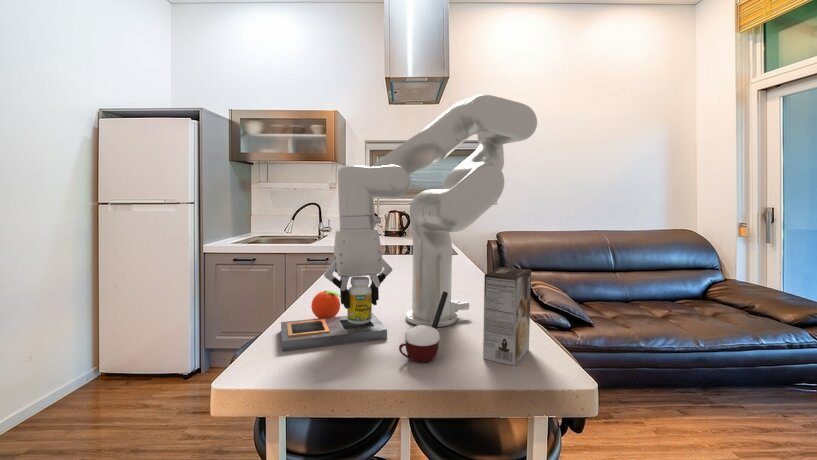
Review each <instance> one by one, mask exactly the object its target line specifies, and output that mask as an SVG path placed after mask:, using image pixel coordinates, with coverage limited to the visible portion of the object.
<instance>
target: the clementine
mask: <svg viewBox="0 0 817 460" xmlns="http://www.w3.org/2000/svg"><path fill="white" fill-rule="evenodd" d="M310 308H311V312H312V313H313V315H314V316H315V318H316V319H318V318H328V317H337V315H338V313H339V312H340V309H341V296H340V294H338V293H337V292H335V291H331V290H324V291H320V292H318V293H317V294H315V296H314V297H313V299H312V301H311V306H310Z"/></svg>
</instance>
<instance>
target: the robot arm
mask: <svg viewBox="0 0 817 460" xmlns="http://www.w3.org/2000/svg"><path fill="white" fill-rule="evenodd" d="M537 127H538V119H537V115H536V113H535V111H534V110H533V109H532V107H530V106H529V105H528V104H525V103H522V102H518V101H515V100H511V99H508V98H503V97H499V96H496V95H490V94H477V95H475V96H472V97H469V98H466V99H464V100H461V101H458V102H456V103H455V104H453V105H452V106H450V107H449V108H448V109H447V110H445V111H444V112H443V113H441V114H440V115H439V116H438V117H437V118H435V119H434V120H433V121H432V122H431V123H429V124H428V125H427V126H426V127H424V128H423V129H421V130H420V131H419V132H417V133H416V134H414V135H413V136H411V137H409V139H407V140H406V141H405V142H404V143H402V144H400V145H399V146H397V147H395V148H394V149H392V151H391V150H390V152H388V153H386V154H385V155H384V156H383V157H382V158H381V159H379V160H378V161H377V162H375V163H374V164H373V165H372V166H367V165H345V166H342V167H340V168H339V169H338V172H337V187H338V189H337V190H338V215H339V229H338V230H336V231H335V235H334V236H335V237H334V246H333V247H334V249H333V262H332V263H331V264H330V265H329V267H328V268H327V269H326V270H325V271H324V272H323V276H324V278H325V279H327V280H328V281H329V282H331V283H332V284H334V285H335V286H336V287H337V288H338V289H339V291H340V293H339V295H340V296H341V298H340V305H343V306H344V309H346V310H347V309H348V308H349V291H348V287H347V286H348V283H349V280H350V278H352V277H358V276H362V277H367V276H368V277H369V280H370V281H371V283H370V285H369V287H370V288H371V289H372V306H378V305H377V304H378V301H379V300H380V299H379V295H380V294H379V293H380V292H379V288H380V286H381V285H382V283H383V282H384V280H385V279H386V278H387V277H388V276H389V275H390V274H391V272H393V268H392V266H391V265H390V264H388V262H387V261H386V260H385V259H384V257H383V255H382V245H381V240H380V239H381V238H380V235H379V230H378V228H376V226H377V225H378V224H381V223H382V218H381V217H377V216H376V215H375V200H376V199H377V200H397V199H401V198H402V197H405V196H406V195H407V194H408V193H409V191H410V190H411V187H412V177H411V175H413V174H415V173H417V172H420V171H422V170H425V169H427V168H430V167H432V166H435V165H436V164H438V163H440V162H442V161H443V160H445V159H446V158H447V157H448V156H449V155H450V154H452V153H453V152H454V151H455V150H456V149H457V148H459V147H460V146H461V145H463V143H464V142H465V141H467V140H468V139H469V138H470V137H473V136H474V135H477V147H476V149H475V150H474V152H473V153H471V154H470V155H469V156H468V157H467V158H465V159H464V160H462V162H461V163H459V164H458V165H456V167H454V168H453V169H452V170H451V171H450V172H449V173H448V174H447V175H446V176H445V179H444V182H443V189H441V188H440V189H439V188H438V189H426V190H423V191H421V192H419V193H418V194H416V195H415V196H414V197H413V198H412V201H411V202H410V205H409V220H410V225H411V226H410V227H411V235H412V292H411V293H412V299H411V300H412V302H411V303H412V304H411V305H412V306H411V307H412V309H411V310H408V311H407V312H406V313H405V320H406V321H407V322H408V323H410V324H413V325H415V326H418V325H425V326H430V327H432V324H433V321H434V318H435V315H436V312H437V309H438V305H439V302H440V299H441V296H442V293H443V292H444V291H445V292H447V293H448V296H447V299H446V302H445V305H444V308H443V311H442V315H441V318H440V321H439V324H438V327H437V328H441V327H447V326H451V325H453V324H455V323H457V321H458V314H457V312H459V311H468V310H470V303H469V302H468V301H464V302H460V301H459V300H455V301H454V300H453V299H452V281H453V279H452V278H453V276H452V274H453V273H452V269H453V243H452V239H451V235H450V233H459V232H462V231H464V230H466V229H467V228H469V227H470V226H471V225H472V224H474V223H475V222H476V221H477V220H478V219H479V218H480V217H481V216H482V215H483V214H485V213H486V212H487V211H488V210H489V209H490V208H491V207H492V206H494V204H495V203H496V202H497V201H498V200H499V199H500V197H501V195H502V194H503V192H504V188H505V175H504V173H503V171H502V170H503V169H504V166H505V154H504V152H505V151H504V145H505V144H511V143H517V142H522V141H526V140H528V139H530V138H531V137H532V136H533V135H534V133H535V132H536V131H537ZM334 273H337V276H338V277H340V278H339V279H338V278H337V277H336V276H334V275H333V274H334Z"/></svg>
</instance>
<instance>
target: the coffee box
mask: <svg viewBox="0 0 817 460" xmlns="http://www.w3.org/2000/svg"><path fill="white" fill-rule="evenodd" d="M531 285H532V269H525V268H514V267H505V266H504V267H502V266H500V267H498V268H496V269H494V270H492V271H489V272H487V273H485V274H484V289H483V293H484V295H483V300H484V301H483V339H482V340H483V341H482V344H483V345H482V349H483V352H482V354H483V355H482V358H483V359H484V360H488V361H491V362H497V363H500V364H505V365H508V366H514V367H515V366H517V365H518V363H520V361H521V360H522V359H523V357H524V356H525V355H526V353H527V352H528V351H529V350H530V323H531V319H530V318H531V293H532V292H531V290H532V289H531V288H532V286H531Z"/></svg>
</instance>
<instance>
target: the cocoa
mask: <svg viewBox="0 0 817 460" xmlns="http://www.w3.org/2000/svg"><path fill="white" fill-rule="evenodd" d="M447 296H448V293H447V292H445V291H444V292H443V293H442V296H441V299H440V302H439V305H438V309H437V312H436V315H435V318H434V321H433V324H432V327H430V326H425V325H415V326H413V327H411V328H409V329H407V330H406V331H405V333H404V337H405V341H404V343H401V344H400V345H399V347H398V351H399V353H400V354H401V355H402V356H404V357H405V358H407V359H410V360H412V361H414V362H416V363H422V364H423V363H424V364H425V363H428V362H431V361H433V359H435V358H436V356H437V354H438V352H439V347H440V346H439V344H440V332H439V331H438V328H439V327H438V324H439V321H440V318H441V315H442V311H443V308H444V305H445V302H446V299H447ZM404 347H405V350H406V353H404V352H403V350H402V348H404Z"/></svg>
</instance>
